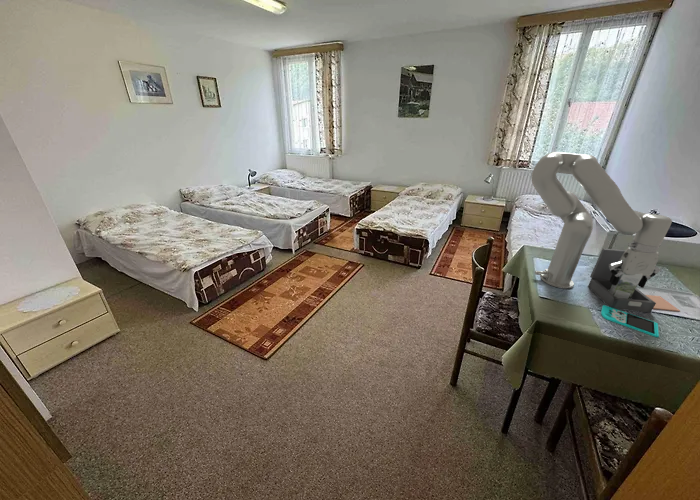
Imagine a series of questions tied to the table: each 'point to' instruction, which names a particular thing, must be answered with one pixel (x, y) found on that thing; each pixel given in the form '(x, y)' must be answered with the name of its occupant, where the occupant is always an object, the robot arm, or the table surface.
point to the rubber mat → (662, 303)
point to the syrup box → (625, 285)
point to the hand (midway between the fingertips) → (625, 284)
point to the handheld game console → (630, 321)
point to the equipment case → (602, 284)
